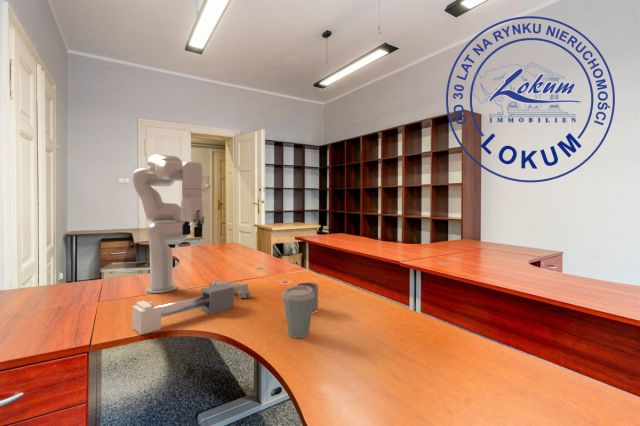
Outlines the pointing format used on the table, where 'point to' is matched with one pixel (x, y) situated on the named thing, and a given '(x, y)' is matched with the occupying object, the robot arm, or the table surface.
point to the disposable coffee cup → (298, 309)
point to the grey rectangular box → (218, 298)
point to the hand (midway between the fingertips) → (192, 235)
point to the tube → (184, 305)
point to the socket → (146, 317)
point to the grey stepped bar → (235, 288)
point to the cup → (315, 290)
